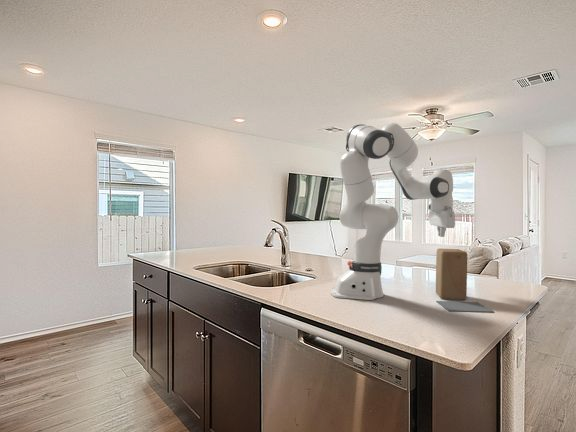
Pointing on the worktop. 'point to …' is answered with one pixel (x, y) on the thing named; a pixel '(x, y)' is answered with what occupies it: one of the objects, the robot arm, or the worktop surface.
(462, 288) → the wooden block
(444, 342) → the worktop surface
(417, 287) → the worktop surface
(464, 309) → the mat
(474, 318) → the worktop surface
